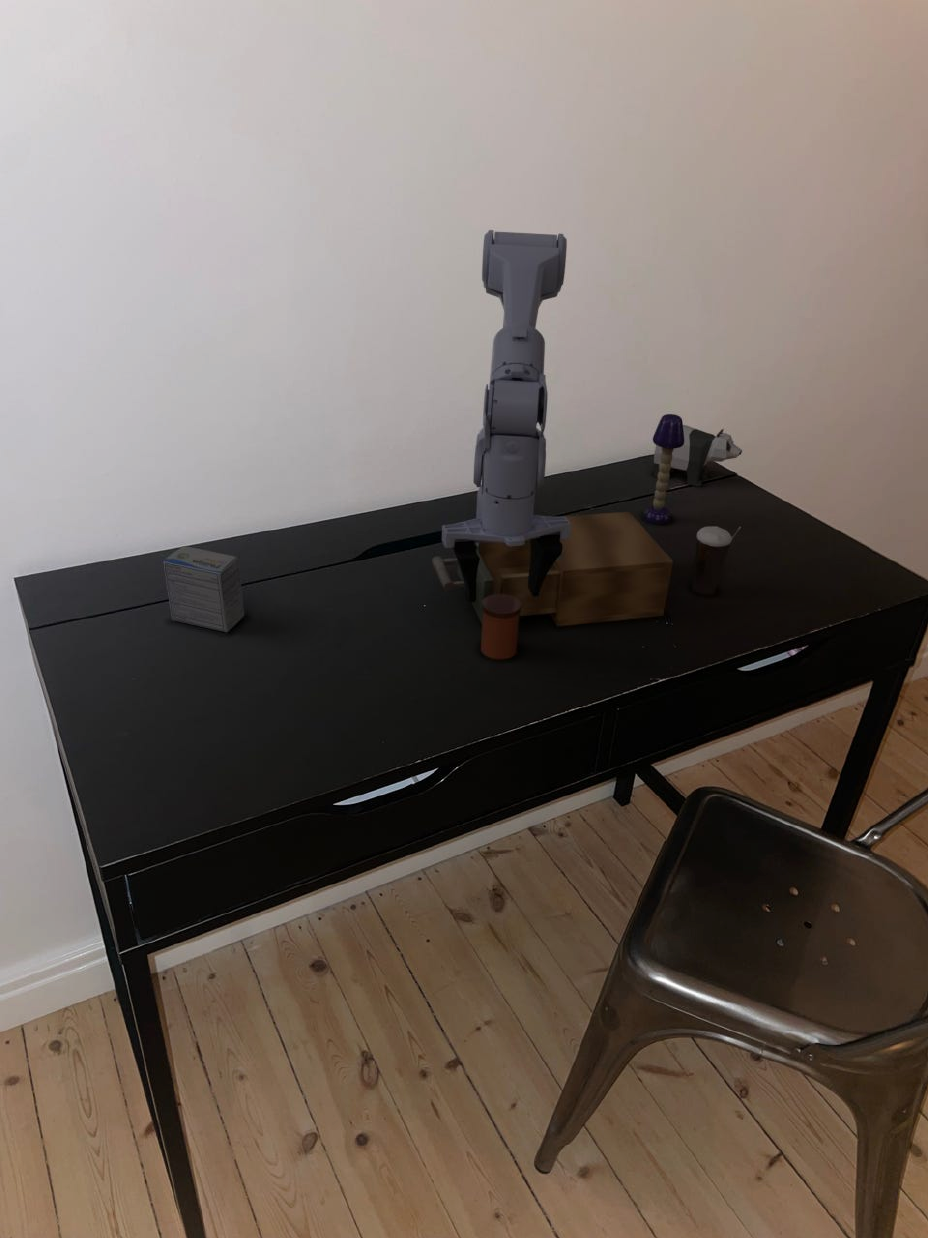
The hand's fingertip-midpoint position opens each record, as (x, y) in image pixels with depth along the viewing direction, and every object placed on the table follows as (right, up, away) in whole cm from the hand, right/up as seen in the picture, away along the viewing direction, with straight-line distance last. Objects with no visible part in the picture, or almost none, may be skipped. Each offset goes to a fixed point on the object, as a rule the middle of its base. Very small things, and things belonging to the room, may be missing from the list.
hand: (502, 595), depth 112 cm
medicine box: (-36, -3, +7) cm, 37 cm away
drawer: (+1, 0, +13) cm, 13 cm away
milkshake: (+29, +1, +18) cm, 34 cm away
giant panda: (+34, +21, +51) cm, 65 cm away
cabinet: (+13, +1, +16) cm, 21 cm away
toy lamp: (+25, +13, +37) cm, 47 cm away
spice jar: (0, -7, +4) cm, 8 cm away
